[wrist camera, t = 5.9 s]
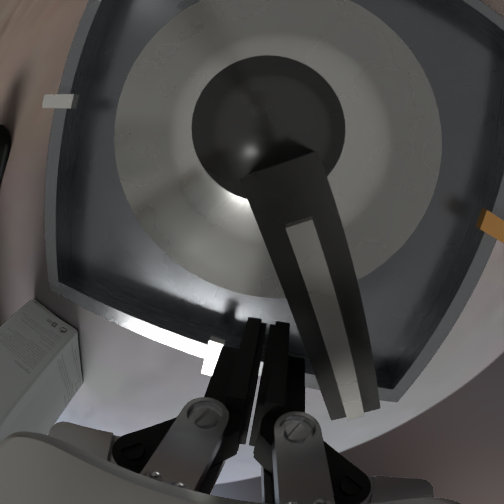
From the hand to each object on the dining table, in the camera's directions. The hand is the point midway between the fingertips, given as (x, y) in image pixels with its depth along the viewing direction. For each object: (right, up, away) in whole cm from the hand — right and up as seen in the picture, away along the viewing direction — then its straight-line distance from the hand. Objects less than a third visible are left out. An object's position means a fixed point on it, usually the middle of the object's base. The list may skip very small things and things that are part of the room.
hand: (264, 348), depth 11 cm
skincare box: (-18, -5, +9) cm, 21 cm away
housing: (+1, +9, +1) cm, 9 cm away
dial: (+1, +7, 0) cm, 7 cm away
